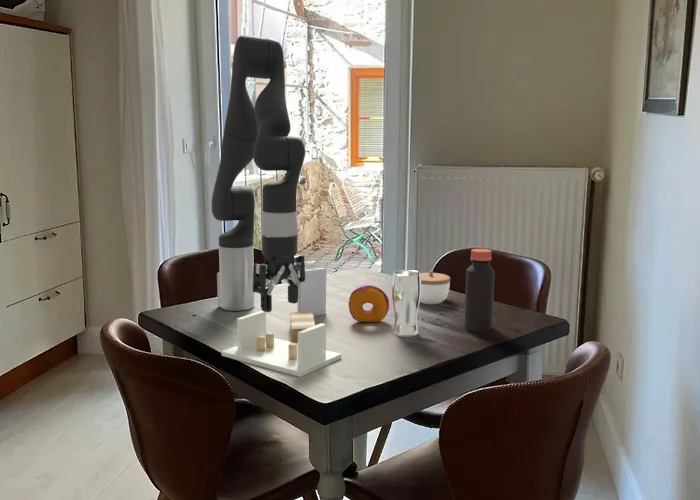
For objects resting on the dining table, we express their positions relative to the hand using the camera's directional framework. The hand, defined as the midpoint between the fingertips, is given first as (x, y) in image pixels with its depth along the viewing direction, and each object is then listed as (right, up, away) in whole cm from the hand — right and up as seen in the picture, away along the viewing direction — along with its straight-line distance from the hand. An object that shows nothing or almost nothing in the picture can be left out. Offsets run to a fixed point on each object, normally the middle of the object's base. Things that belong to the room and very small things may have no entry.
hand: (279, 307), depth 150 cm
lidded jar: (+38, -3, +48) cm, 61 cm away
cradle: (0, -11, +2) cm, 11 cm away
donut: (+20, -7, +28) cm, 35 cm away
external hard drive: (+5, -5, +35) cm, 35 cm away
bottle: (+47, -8, +23) cm, 52 cm away
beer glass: (+28, -8, +20) cm, 36 cm away
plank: (+4, -8, +18) cm, 20 cm away
